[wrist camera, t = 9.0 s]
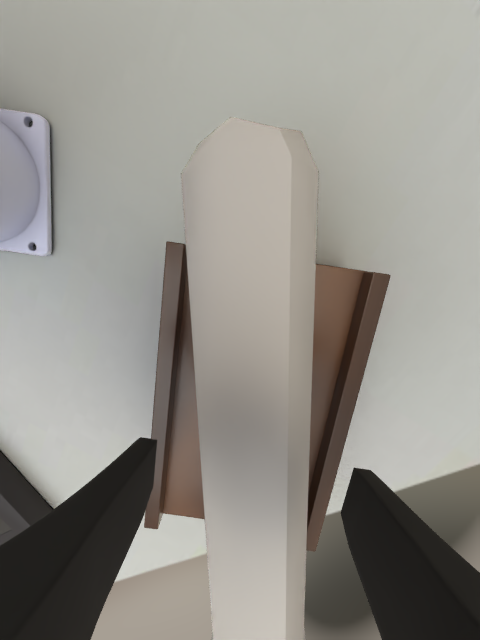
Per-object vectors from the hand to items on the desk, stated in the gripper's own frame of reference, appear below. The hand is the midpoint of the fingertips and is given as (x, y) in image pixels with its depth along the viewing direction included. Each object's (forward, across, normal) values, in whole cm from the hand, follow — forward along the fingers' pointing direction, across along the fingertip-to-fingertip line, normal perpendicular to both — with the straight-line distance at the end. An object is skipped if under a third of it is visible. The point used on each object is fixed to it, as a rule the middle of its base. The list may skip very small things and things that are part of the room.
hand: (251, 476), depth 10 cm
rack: (+10, 0, 0) cm, 10 cm away
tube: (+5, 0, 0) cm, 5 cm away
